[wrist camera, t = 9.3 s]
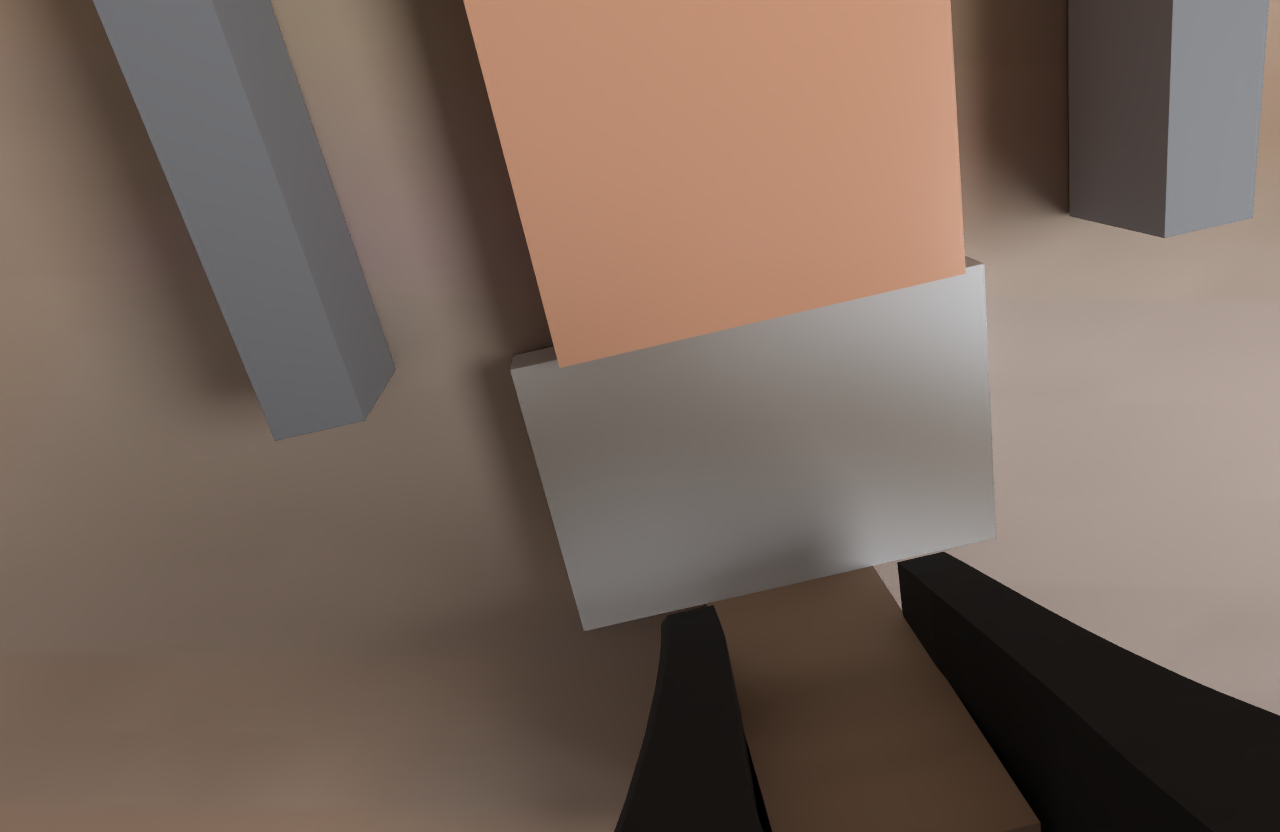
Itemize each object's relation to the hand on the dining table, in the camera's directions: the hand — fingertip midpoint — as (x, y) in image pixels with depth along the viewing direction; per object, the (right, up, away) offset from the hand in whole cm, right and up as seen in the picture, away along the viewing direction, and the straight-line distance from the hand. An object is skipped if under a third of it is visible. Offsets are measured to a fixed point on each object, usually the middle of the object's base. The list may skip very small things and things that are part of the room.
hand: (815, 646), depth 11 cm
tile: (-1, +7, 0) cm, 7 cm away
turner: (0, 0, +2) cm, 2 cm away
